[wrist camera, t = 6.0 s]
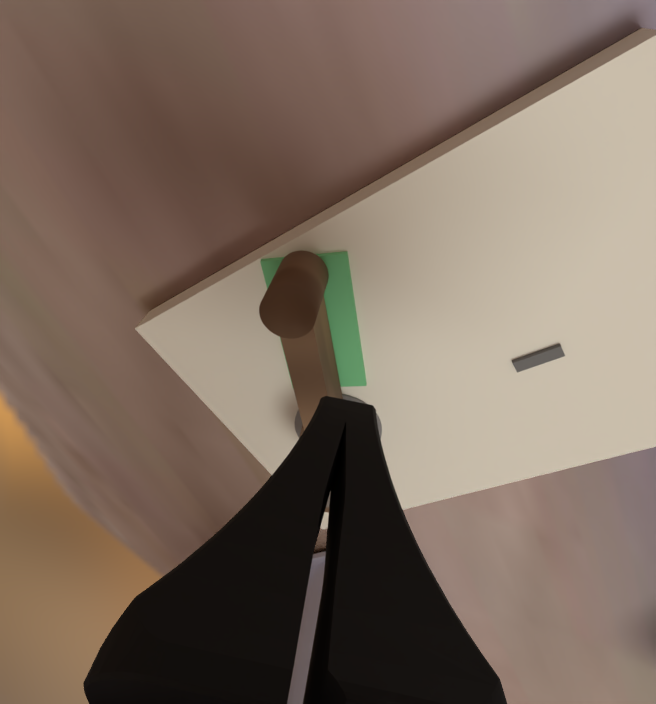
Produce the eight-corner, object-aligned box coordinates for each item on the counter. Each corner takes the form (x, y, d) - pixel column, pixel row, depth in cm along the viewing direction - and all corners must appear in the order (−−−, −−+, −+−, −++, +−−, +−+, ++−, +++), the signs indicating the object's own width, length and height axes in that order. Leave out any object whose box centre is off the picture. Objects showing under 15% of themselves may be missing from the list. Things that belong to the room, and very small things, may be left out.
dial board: (730, 397, 20) (753, 426, 19) (326, 507, 28) (322, 532, 27) (641, 28, 14) (667, 31, 12) (150, 310, 22) (132, 331, 20)
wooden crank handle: (375, 458, 22) (370, 522, 20) (308, 458, 23) (294, 519, 20) (344, 246, 16) (330, 295, 14) (255, 254, 17) (225, 302, 14)
